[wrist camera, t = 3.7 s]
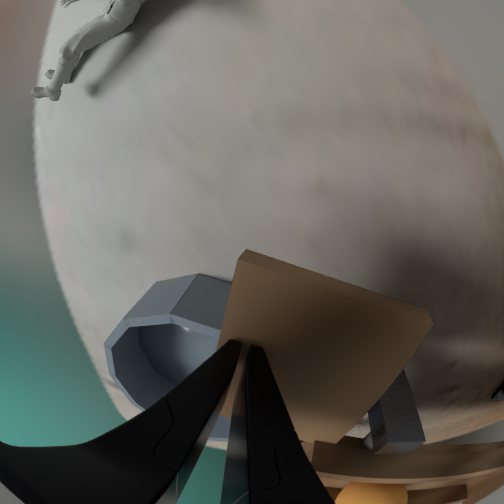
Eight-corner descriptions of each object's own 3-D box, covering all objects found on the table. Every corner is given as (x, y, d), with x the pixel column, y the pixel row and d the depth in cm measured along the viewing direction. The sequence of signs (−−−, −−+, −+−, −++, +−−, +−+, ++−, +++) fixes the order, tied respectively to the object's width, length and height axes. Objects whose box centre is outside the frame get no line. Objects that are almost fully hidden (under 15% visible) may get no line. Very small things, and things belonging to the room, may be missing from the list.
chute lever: (578, 360, 5) (597, 391, 2) (456, 482, 10) (459, 511, 7) (247, 246, 8) (199, 304, 5) (197, 446, 14) (177, 486, 11)
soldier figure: (60, 58, 12) (143, -79, 4) (113, 71, 15) (206, -57, 7) (17, 112, 8) (120, -101, 1) (91, 128, 12) (221, -69, 4)
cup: (319, 307, 15) (324, 357, 11) (266, 412, 19) (259, 453, 15) (136, 253, 15) (97, 284, 12) (137, 371, 20) (116, 405, 16)
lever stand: (412, 316, 14) (463, 425, 6) (328, 429, 19) (328, 512, 12) (342, 297, 14) (368, 428, 7) (274, 421, 19) (261, 507, 12)
